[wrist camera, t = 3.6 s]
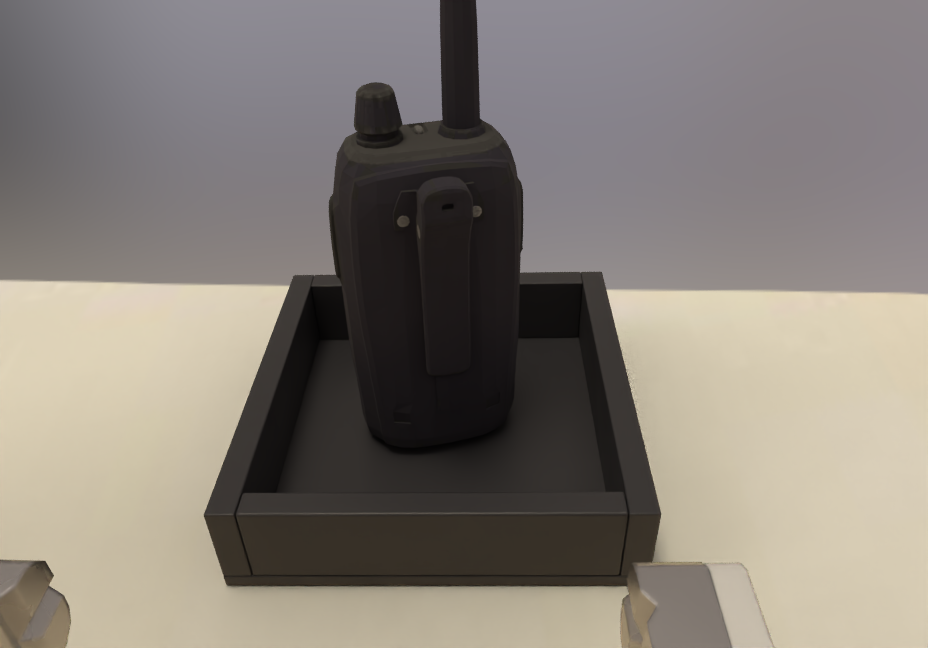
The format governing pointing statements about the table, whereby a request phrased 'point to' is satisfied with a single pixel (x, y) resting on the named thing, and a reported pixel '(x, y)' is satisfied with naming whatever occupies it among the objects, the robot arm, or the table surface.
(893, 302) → the table surface
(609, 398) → the tray
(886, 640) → the table surface
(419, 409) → the two-way radio
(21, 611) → the robot arm
